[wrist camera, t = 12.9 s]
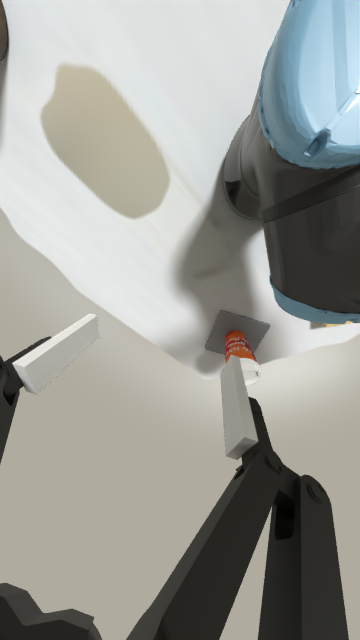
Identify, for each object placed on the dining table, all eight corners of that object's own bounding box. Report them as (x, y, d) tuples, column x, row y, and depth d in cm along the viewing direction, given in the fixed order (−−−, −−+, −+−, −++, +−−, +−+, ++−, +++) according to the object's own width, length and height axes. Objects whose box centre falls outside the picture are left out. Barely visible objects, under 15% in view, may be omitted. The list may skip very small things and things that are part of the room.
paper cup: (246, 324, 42) (260, 360, 30) (250, 345, 45) (265, 385, 33) (218, 330, 45) (220, 365, 33) (224, 350, 48) (228, 388, 36)
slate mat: (220, 310, 42) (220, 311, 42) (269, 324, 42) (270, 325, 41) (205, 347, 50) (205, 348, 49) (247, 359, 49) (247, 361, 48)
